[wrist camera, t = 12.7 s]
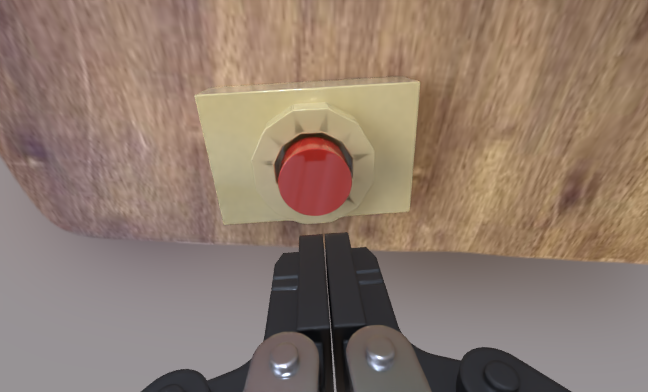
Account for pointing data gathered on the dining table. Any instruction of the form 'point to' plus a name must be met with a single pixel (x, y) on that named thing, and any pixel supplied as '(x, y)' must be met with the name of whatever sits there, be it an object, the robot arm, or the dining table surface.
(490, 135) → the dining table surface
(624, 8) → the dining table surface
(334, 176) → the push button
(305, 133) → the button base
